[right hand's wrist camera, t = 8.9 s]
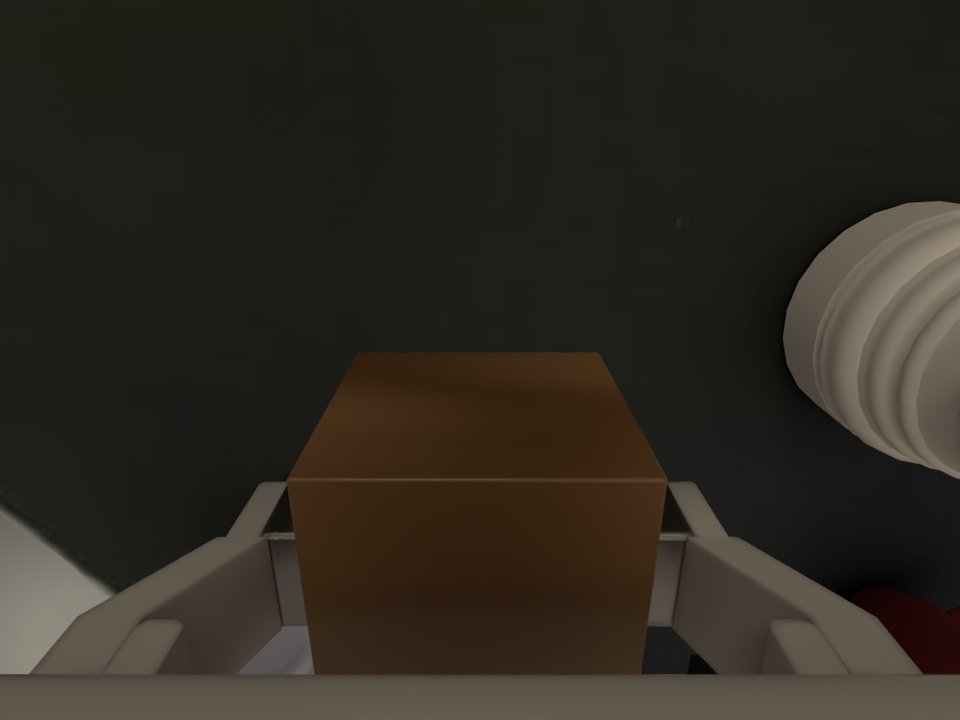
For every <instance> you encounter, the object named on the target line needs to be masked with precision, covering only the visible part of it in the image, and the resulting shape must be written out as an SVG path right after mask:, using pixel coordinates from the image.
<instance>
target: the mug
mask: <svg viewBox="0 0 960 720" xmlns="http://www.w3.org/2000/svg"><path fill="white" fill-rule="evenodd" d="M849 602H851V603H852V604H854V605H856V606H858V607H859V608H861V609H863V610H865V611H866V612H868V613H870V614H871V615H873V616H875V617H877V618H878V620H879V621H880V622H881V623H882V625H883V626H884V627H885V628H886V629H887V631H888V632H889V633H890V634H891V636H892V637H893V638H894V639H895V640H896V642H897V643H898V644H899V645H900V646H901V648H902V649H903V650H904V651H905V653H906V654H907V655H908V656H909V657H910V659H911V660H912V661H913V662H914V664H915V665H916V666H917V667H918V668H919V670H920V671H921V672H922V673H923V674H960V607H957V608H954V609H951V610H948V611H943V610H941V609H940V608H938V607H936V606H935V605H933V604H931V603H929V602H927V601H925V600H923V599H920V598H918V597H915V596H913V595H910V594H907V593H905V592H902V591H899V590H897V589H894V588H891V587H886V586H875V587H870V588H867V589H864V590H862V591H860V592H858V593H857V594H855V595H854V596H853V597H852V598H851V599H850V600H849Z"/></svg>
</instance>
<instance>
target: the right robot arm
mask: <svg viewBox="0 0 960 720" xmlns="http://www.w3.org/2000/svg"><path fill="white" fill-rule="evenodd" d="M286 626H307V620H306V613H305V606H304V599H303V592H302V585H301V578H300V571H299V564H298V557H297V550H296V543H295V536H294V529H293V522H292V515H291V508H290V501H289V494H288V487H287V482H263V483H261V484H260V485H259V486H258V487H257V489H256V490H255V492H254V493H253V495H252V497H251V498H250V500H249V501H248V503H247V504H246V506H245V507H244V509H243V511H242V512H241V514H240V515H239V517H238V518H237V520H236V522H235V523H234V525H233V526H232V528H231V529H230V531H229V533H228V534H227V536H226V537H216V538H215V539H213V540H211V541H209V542H208V543H206V544H204V545H202V546H201V547H199V548H197V549H195V550H194V551H192V552H190V553H188V554H187V555H185V556H183V557H181V558H180V559H178V560H176V561H174V562H172V563H171V564H169V565H167V566H165V567H164V568H162V569H160V570H158V571H157V572H155V573H153V574H151V575H150V576H148V577H146V578H144V579H143V580H141V581H139V582H137V583H136V584H134V585H132V586H130V587H129V588H127V589H125V590H123V591H122V592H120V593H118V594H116V595H115V596H113V597H111V598H109V599H108V600H106V601H104V602H102V603H100V604H99V605H97V606H95V607H93V608H92V609H90V610H88V611H86V612H85V613H83V614H81V615H79V616H78V617H77V618H76V619H75V620H74V621H73V622H72V624H71V625H70V626H69V627H68V628H67V630H66V631H65V632H64V633H63V634H62V635H61V637H60V638H59V639H58V640H57V641H56V643H55V644H54V645H53V646H52V647H51V649H50V650H49V651H48V652H47V653H46V655H45V656H44V657H43V658H42V659H41V660H40V662H39V663H38V664H37V665H36V666H35V668H34V669H33V670H32V671H31V672H30V674H0V720H960V674H923V673H922V672H921V671H920V670H919V668H918V667H917V666H916V665H915V664H914V662H913V661H912V660H911V659H910V657H909V656H908V655H907V654H906V653H905V651H904V650H903V649H902V648H901V646H900V645H899V644H898V643H897V642H896V640H895V639H894V638H893V637H892V636H891V634H890V633H889V632H888V631H887V629H886V628H885V627H884V626H883V625H882V623H881V622H880V621H879V620H878V618H877V617H875V616H873V615H871V614H870V613H868V612H866V611H865V610H863V609H861V608H859V607H858V606H856V605H854V604H852V603H851V602H849V601H847V600H845V599H844V598H842V597H840V596H838V595H837V594H835V593H833V592H832V591H830V590H828V589H826V588H825V587H823V586H821V585H819V584H818V583H816V582H814V581H812V580H811V579H809V578H807V577H806V576H804V575H802V574H800V573H799V572H797V571H795V570H793V569H792V568H790V567H788V566H786V565H785V564H783V563H781V562H780V561H778V560H776V559H774V558H773V557H771V556H769V555H767V554H766V553H764V552H762V551H760V550H759V549H757V548H755V547H754V546H752V545H750V544H748V543H747V542H745V541H743V540H741V539H740V538H738V537H728V535H727V534H726V532H725V530H724V529H723V527H722V526H721V524H720V523H719V521H718V519H717V518H716V516H715V515H714V513H713V511H712V510H711V508H710V507H709V505H708V504H707V502H706V500H705V499H704V497H703V496H702V494H701V492H700V491H699V489H698V488H697V486H696V485H695V484H694V483H693V482H691V481H683V482H667V488H666V496H665V503H664V510H663V517H662V524H661V531H660V539H659V546H658V553H657V560H656V567H655V574H654V582H653V589H652V596H651V603H650V610H649V618H648V625H647V626H668V627H673V630H674V631H675V632H676V633H677V634H678V635H679V636H680V637H681V638H682V639H683V640H684V641H685V642H686V643H687V644H688V645H689V646H690V647H691V648H692V649H693V650H694V651H695V652H697V653H698V654H699V655H700V656H701V657H702V658H703V659H704V660H705V661H706V662H707V663H708V664H709V665H710V666H711V667H712V668H713V669H714V670H715V671H716V672H717V673H718V674H596V675H427V674H237V673H238V672H239V671H240V670H241V669H242V668H243V667H244V666H245V665H246V664H247V663H248V662H249V661H250V660H251V659H252V658H253V657H254V656H255V655H256V654H257V653H258V652H259V651H260V650H261V649H262V648H263V647H264V646H265V645H266V644H268V643H269V642H270V641H271V640H272V639H273V638H274V637H275V636H276V635H277V634H278V633H279V632H280V631H281V630H282V627H286Z"/></svg>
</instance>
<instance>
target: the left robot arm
mask: <svg viewBox="0 0 960 720" xmlns="http://www.w3.org/2000/svg"><path fill="white" fill-rule="evenodd" d="M286 482H287V480H286ZM237 674H314V668H313V661H312V654H311V647H310V640H309V633H308V627H307V626H286V627H282V630H281V631H280V632H279V633H278V634H277V635H276V636H275V637H274V638H273V639H272V640H271V641H270V642H269V643H268V644H266V645H265V646H264V647H263V648H262V649H261V650H260V651H259V652H258V653H257V654H256V655H255V656H254V657H253V658H252V659H251V660H250V661H249V662H248V663H247V664H246V665H245V666H244V667H243V668H242V669H241V670H240V671H239V672H238V673H237ZM687 674H716V673H715V672H714V671H713V669H712V668H711V667H710V665H709V664H708V663H707V662H706V661H705V660H704V659H703V658H702V657H701V656H700V655H691V657H690V663H689V668H688V673H687Z"/></svg>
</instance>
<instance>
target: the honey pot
mask: <svg viewBox="0 0 960 720" xmlns="http://www.w3.org/2000/svg"><path fill="white" fill-rule="evenodd" d="M783 342H784V349H785V356H786V363H787V366H788V368H789V370H790V372H791V374H792V376H793V378H794V380H795V382H796V384H797V386H798V387H799V388H800V389H801V390H802V391H803V392H804V393H805V394H806V395H807V396H808V397H809V398H810V399H811V400H812V401H813V402H814V403H816V404H817V405H818V406H819V407H821V408H822V409H823V410H824V411H826V412H827V413H828V414H829V415H830V416H832V417H833V418H834V419H835V420H837V421H838V422H839V423H840V424H842V425H843V426H844V427H845V428H847V429H849V430H850V431H851V432H852V433H853V434H854V435H856V436H858V437H859V438H860V439H861V440H862V441H863V442H864V443H866V444H868V445H870V446H872V447H874V448H876V449H878V450H880V451H882V452H884V453H886V454H888V455H890V456H892V457H894V458H896V459H898V460H902V461H908V462H913V463H918V464H922V465H924V466H926V467H928V468H932V469H937V470H941V471H943V472H945V473H947V474H949V475H950V476H953V477H955V478H958V479H960V204H955V203H949V202H942V201H936V202H919V203H906V204H903V205H900V206H897V207H894V208H890V209H887V210H884V211H881V212H878V213H874V214H873V215H871V216H869V217H868V218H866V219H864V220H862V221H861V222H859V223H857V224H855V225H854V226H852V227H850V228H848V229H847V230H845V231H844V232H842V233H841V234H840V235H839V236H838V237H837V238H836V239H835V240H834V241H832V242H831V243H830V244H829V245H828V246H827V247H826V248H825V249H824V250H822V251H821V252H820V253H819V254H818V255H817V257H816V258H815V260H814V261H813V262H812V264H811V265H810V266H809V268H808V269H807V271H806V272H805V273H804V275H803V276H802V278H801V279H800V280H799V282H798V284H797V287H796V289H795V292H794V294H793V296H792V299H791V301H790V304H789V306H788V308H787V312H786V319H785V327H784V334H783Z"/></svg>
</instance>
